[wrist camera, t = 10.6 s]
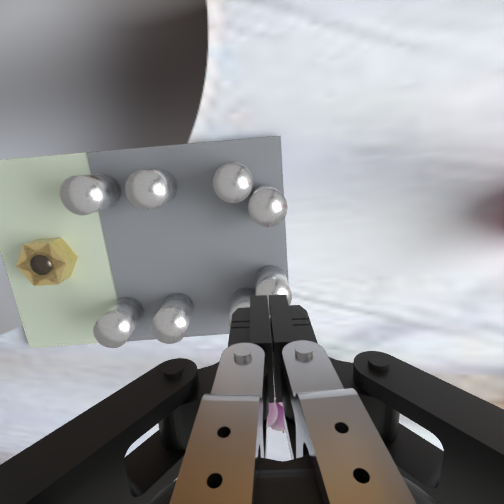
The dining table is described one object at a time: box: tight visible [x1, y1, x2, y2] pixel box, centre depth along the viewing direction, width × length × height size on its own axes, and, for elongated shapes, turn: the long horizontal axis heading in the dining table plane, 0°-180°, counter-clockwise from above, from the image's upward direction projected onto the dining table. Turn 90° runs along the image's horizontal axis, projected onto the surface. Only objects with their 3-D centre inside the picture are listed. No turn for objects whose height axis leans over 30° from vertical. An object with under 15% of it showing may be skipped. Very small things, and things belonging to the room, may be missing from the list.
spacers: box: [60, 162, 292, 348], centre depth 33 cm, size 18×21×5 cm
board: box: [0, 136, 290, 348], centre depth 36 cm, size 22×32×1 cm
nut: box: [16, 238, 78, 286], centre depth 35 cm, size 5×5×2 cm
